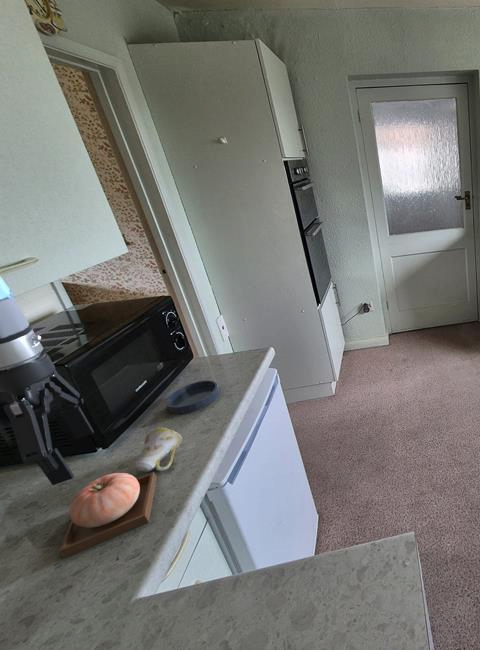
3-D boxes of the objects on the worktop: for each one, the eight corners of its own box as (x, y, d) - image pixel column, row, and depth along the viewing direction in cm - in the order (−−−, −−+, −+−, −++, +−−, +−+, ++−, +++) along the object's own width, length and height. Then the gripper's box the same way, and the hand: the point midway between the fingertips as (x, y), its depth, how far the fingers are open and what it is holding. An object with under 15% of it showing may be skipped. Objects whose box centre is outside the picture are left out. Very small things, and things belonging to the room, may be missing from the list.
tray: (63, 558, 71) (57, 551, 70) (83, 506, 81) (78, 500, 80) (148, 521, 76) (145, 515, 76) (157, 477, 87) (153, 471, 86)
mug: (128, 479, 88) (122, 435, 88) (171, 464, 97) (165, 424, 98) (151, 475, 85) (145, 431, 86) (192, 460, 95) (186, 420, 96)
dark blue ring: (167, 420, 106) (163, 413, 105) (171, 397, 117) (168, 390, 116) (220, 402, 112) (217, 395, 111) (219, 381, 122) (217, 375, 121)
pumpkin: (84, 509, 80) (65, 482, 77) (147, 481, 86) (131, 455, 82) (76, 548, 72) (54, 519, 69) (146, 515, 77) (129, 487, 74)
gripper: (13, 389, 55) (82, 493, 64) (67, 327, 75) (114, 413, 84) (-62, 408, 52) (21, 515, 61) (15, 338, 72) (69, 426, 81)
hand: (75, 456), depth 72 cm, fingers open, 13 cm apart
